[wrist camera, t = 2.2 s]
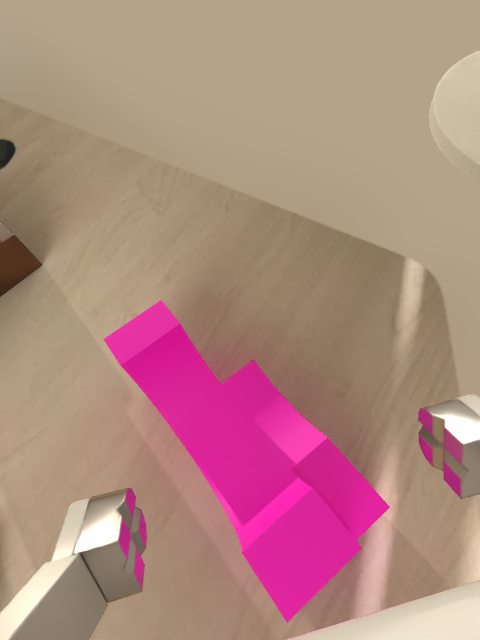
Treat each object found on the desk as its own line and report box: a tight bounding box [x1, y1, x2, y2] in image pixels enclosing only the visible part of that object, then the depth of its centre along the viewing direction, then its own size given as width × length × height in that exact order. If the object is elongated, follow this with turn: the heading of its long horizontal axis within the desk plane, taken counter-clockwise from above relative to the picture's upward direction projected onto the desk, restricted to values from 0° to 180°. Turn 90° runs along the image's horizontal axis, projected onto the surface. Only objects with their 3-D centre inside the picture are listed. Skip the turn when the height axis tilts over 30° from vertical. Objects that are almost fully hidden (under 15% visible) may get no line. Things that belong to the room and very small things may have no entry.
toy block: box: [104, 300, 390, 622], centre depth 21 cm, size 15×6×8 cm, turn 38°
